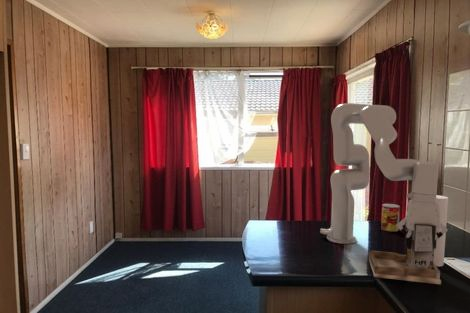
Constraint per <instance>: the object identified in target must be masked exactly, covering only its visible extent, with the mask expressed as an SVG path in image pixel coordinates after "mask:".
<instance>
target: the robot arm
mask: <svg viewBox="0 0 470 313" xmlns="http://www.w3.org/2000/svg"><path fill="white" fill-rule="evenodd" d="M396 120H397V113H396V110H395V109H394V108H393V107H391V106H389V105H383V104H382V105H381V104H368V103H367V104H366V103H352V102H350V103H348V102H347V103H341V104H338V105H337V106H336V107H335V108H334V109H333V111H332V113H331V116H330V121H331V122H330V123H331V129H332V136H333V139H332V140H333V142H332V143H333V145H332V146H333V161H334V163H335V164H336V165H338V166H340V167H341V166H342V167H344V166H345V167H347V166H351V168H341V169H336V170H334V171H333V172H332V174H331V176H330V189H331V217H330V218H331V219H330V227H329V228H327V229H326V228H320V231H319V232H320V234H323V235H326V239H327V240H328V241H329V242H331V243H335V244H336V243H337V244H341V245H351V244H354V243H356V242H357V238H356V236H354V222H355V220H354V218H355V198H354V195H353V193H352V191H359V190H360V191H361V190H364V189H366V188H367V187H368V186H369V183H370V154H369V150H368V149H367V148H366V146H364V145H363V144H358V143H354V131H353V130H352V128H351V126H350V124H353V125H355V124H356V125H357V124H359V125H360V124H361V125H364V127H365V128H366V130H367V132H368V134H369V136H370V137H371V139H372V140H373V141H374V143H375V144H374V145H375V147H374V159H375V163H376V165H377V166H378V168H379V169H380V172H382V174H383V176H384V177H385V178H386V179H388V180H390V181H393V182H394V181H395V182H396V181H397V182H400V181H412V183H411V191H410V193H406V198H408V199H409V200H408V203H407V206H406V211H405V217H404V218H403V219H401V220H399V223H397V224H396V226H397V227H398V228H399V229H398V230H399V231H400V232H401V233H402V234H403V235H404V236H405V241H404V243H405V244H404V245H405V247H406V249H407V248H408V249H411V237H410V236H411V234H412V231H414V224H428V225H435V226H436V234H435V247H434V249H436V241H437V240H438V238H440V237H441V236H442V235H443V234H444V233H446V234H447V232H448V231H449V229H448V228H447V226H446V227H445V226H444V225H443V224H442V223H440V209H439V204H438V203H436V195H438V194H437V193H438V181H439V180H438V178H439V164H438V163H436V162H432V161H422V160H418V159H416V158H415V159H413V158H396V157H395V156H394V154H393V152H392V150H391V148H390V144H392V143H393V142H394V141H395V140H396V139H397V137H398V132H397V130H396V129H395V128H394V126H393V125H394V124H395V122H396ZM404 226H405V227H406V229H405V228H404ZM440 228H441V230H440Z"/></svg>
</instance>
